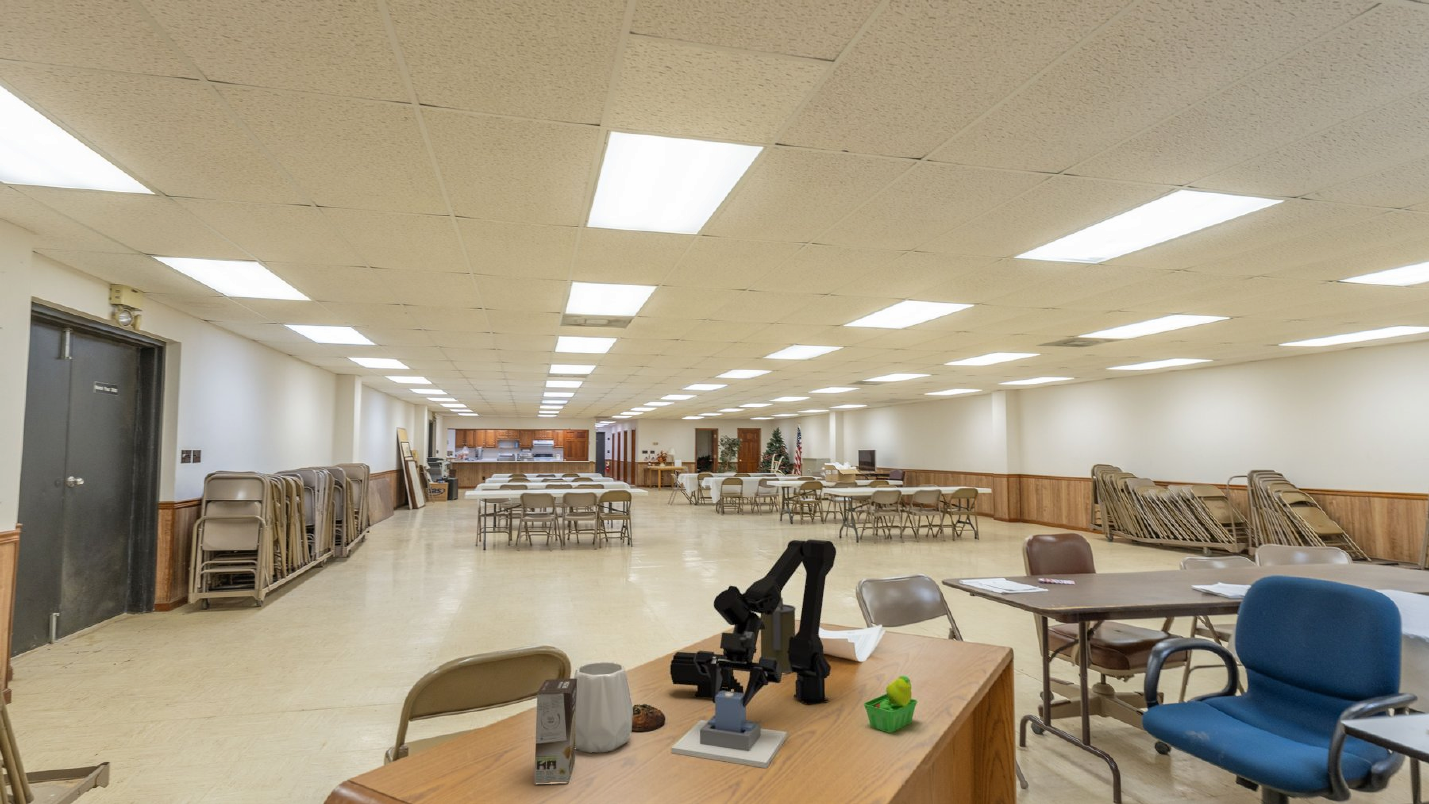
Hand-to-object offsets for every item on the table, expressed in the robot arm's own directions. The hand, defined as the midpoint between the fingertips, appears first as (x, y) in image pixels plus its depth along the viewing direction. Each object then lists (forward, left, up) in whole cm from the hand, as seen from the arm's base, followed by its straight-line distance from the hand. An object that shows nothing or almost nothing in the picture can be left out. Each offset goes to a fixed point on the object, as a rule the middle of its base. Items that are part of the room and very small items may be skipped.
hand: (728, 704), depth 137 cm
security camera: (-8, -31, -9) cm, 33 cm away
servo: (-1, -1, -8) cm, 8 cm away
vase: (+24, -13, -9) cm, 29 cm away
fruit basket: (-39, +4, -9) cm, 40 cm away
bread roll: (+13, -20, -9) cm, 25 cm away
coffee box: (+35, -2, -9) cm, 36 cm away
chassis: (-1, -1, -9) cm, 9 cm away
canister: (-36, -44, -9) cm, 57 cm away
